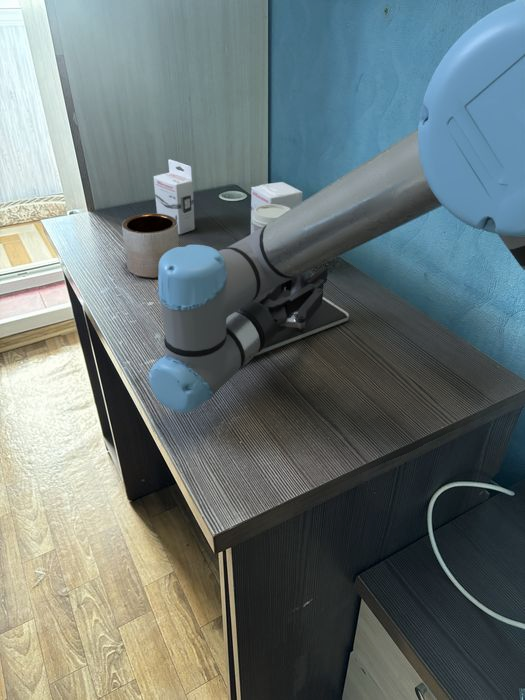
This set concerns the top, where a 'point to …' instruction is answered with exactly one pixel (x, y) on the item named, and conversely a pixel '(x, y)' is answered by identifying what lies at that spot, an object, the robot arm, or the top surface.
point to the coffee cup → (267, 214)
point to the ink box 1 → (176, 195)
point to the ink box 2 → (274, 196)
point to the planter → (148, 242)
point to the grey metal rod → (299, 283)
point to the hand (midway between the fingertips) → (315, 271)
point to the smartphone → (309, 323)
